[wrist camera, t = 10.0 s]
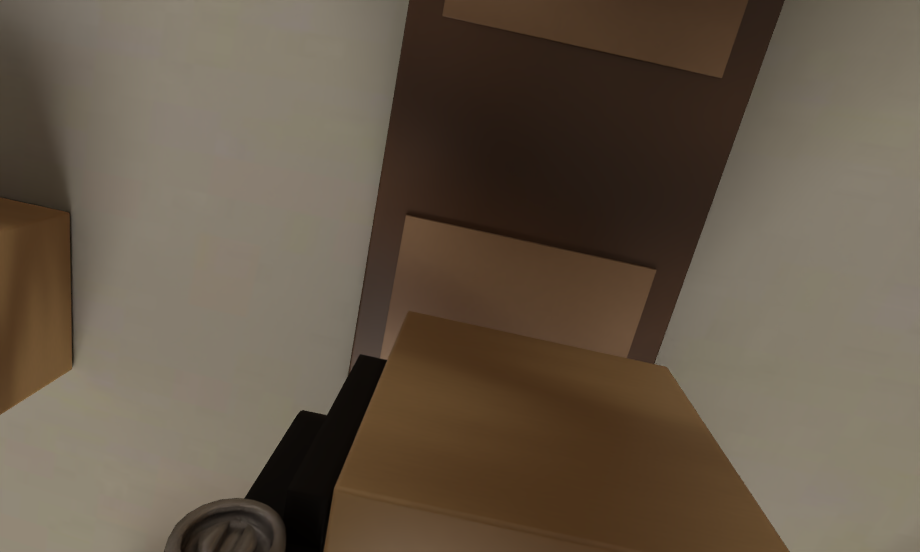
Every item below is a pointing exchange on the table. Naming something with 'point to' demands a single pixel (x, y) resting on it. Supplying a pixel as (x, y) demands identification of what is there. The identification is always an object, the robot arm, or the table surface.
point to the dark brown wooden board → (555, 164)
